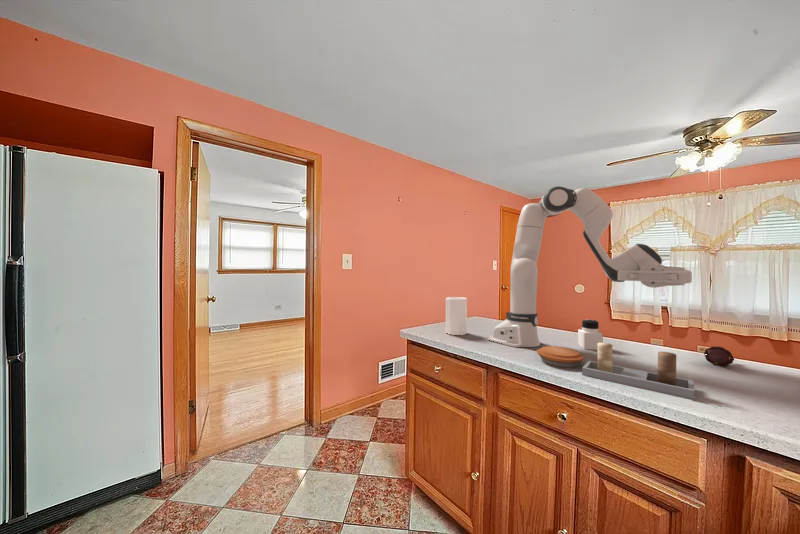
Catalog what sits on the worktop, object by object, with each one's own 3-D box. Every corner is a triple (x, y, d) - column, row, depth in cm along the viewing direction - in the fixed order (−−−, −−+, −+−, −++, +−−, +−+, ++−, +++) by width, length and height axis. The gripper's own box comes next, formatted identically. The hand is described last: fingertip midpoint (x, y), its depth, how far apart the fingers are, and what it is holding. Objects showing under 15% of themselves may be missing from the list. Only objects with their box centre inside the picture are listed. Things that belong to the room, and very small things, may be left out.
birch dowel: (596, 374, 97) (596, 344, 97) (599, 371, 100) (598, 341, 100) (611, 378, 94) (611, 346, 94) (613, 374, 97) (613, 344, 97)
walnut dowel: (657, 388, 87) (658, 354, 86) (657, 383, 90) (657, 350, 89) (676, 392, 84) (677, 357, 84) (675, 386, 87) (675, 353, 87)
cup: (470, 333, 156) (471, 297, 156) (460, 337, 148) (460, 299, 148) (452, 330, 164) (452, 296, 164) (441, 333, 155) (441, 298, 155)
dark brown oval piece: (739, 354, 99) (734, 349, 110) (708, 344, 104) (706, 340, 115) (731, 373, 100) (727, 366, 111) (701, 363, 105) (700, 357, 116)
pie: (590, 363, 109) (590, 350, 109) (574, 373, 99) (574, 358, 99) (547, 354, 121) (547, 341, 121) (529, 362, 110) (529, 348, 110)
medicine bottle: (602, 350, 126) (603, 322, 125) (584, 349, 127) (584, 321, 127) (595, 345, 133) (595, 319, 132) (577, 345, 134) (578, 318, 134)
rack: (582, 375, 97) (582, 367, 97) (588, 367, 104) (588, 360, 104) (694, 400, 79) (694, 390, 79) (692, 388, 87) (692, 380, 87)
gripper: (619, 267, 119) (614, 267, 109) (690, 267, 105) (692, 267, 95) (619, 282, 119) (614, 284, 109) (690, 285, 105) (692, 287, 95)
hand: (651, 276), depth 102 cm, fingers open, 8 cm apart
